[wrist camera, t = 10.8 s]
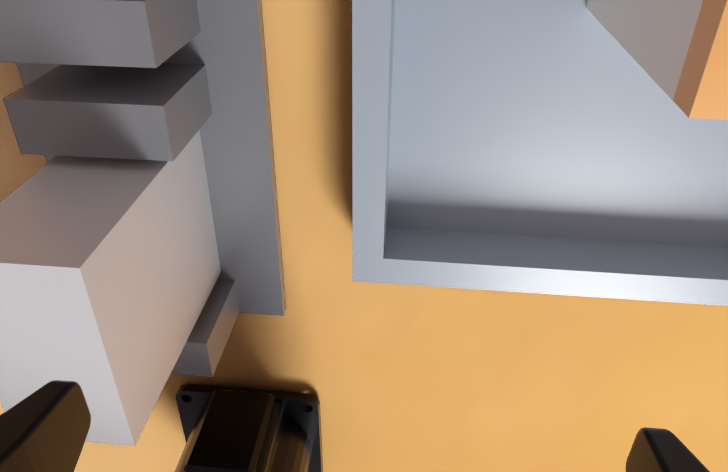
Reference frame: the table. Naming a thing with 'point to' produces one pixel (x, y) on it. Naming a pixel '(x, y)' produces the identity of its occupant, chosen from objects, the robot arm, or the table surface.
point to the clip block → (162, 122)
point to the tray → (527, 157)
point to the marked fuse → (675, 47)
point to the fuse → (104, 281)
